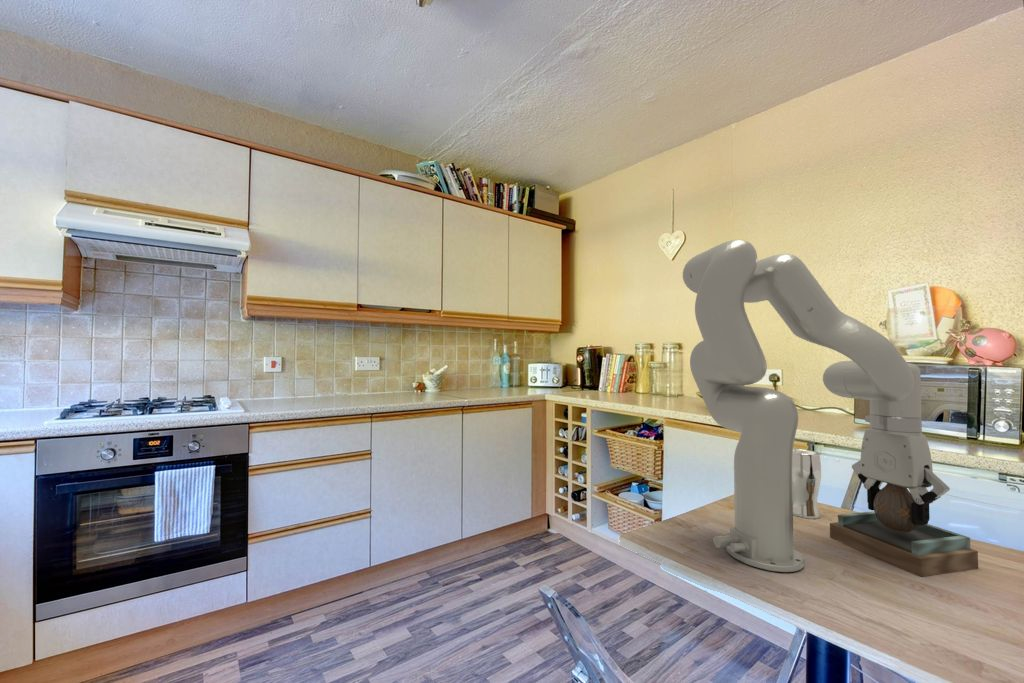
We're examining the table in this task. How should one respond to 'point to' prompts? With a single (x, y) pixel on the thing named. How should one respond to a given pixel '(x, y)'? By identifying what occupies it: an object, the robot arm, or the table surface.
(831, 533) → the dock
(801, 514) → the beer glass
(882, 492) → the vase
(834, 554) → the table surface
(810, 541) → the table surface
